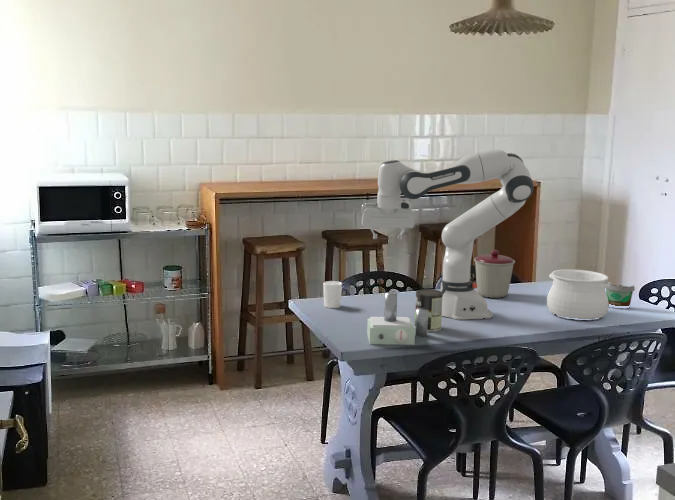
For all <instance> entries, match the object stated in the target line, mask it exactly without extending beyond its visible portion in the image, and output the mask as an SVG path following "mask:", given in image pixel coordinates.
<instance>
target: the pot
mask: <svg viewBox="0 0 675 500" xmlns="http://www.w3.org/2000/svg"><path fill="white" fill-rule="evenodd" d="M548 276H549V277H548V278H550V279H552V280H553V281H552V286H551V287H550V290H549V291H548V294H547V297H546V305H547V309H548V311H549V312H550V313H551V314H552V313H553V314H556V315H559V316H563V317H569V318H578V319H595V318H601V317H602V318H604V317H605V316H606V315H607V312H608V310H609V307H608V306H609V302H608V297H607V294H606V288H605V287H609V286H610V285H611V282H610V281H608V280H609V276H608V275H606V274H604V273H601V272H597V271H592V270H586V269H585V270H584V269H556V270H553V271H552V272H551V273H549V275H548ZM553 314H552V315H553ZM602 318H601V319H602Z"/></svg>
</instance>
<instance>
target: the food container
mask: <svg viewBox="0 0 675 500" xmlns="http://www.w3.org/2000/svg"><path fill="white" fill-rule="evenodd" d="M635 289H636V288H635V285H632V286H626V285H621V284H610V286H609V287H605V291H606V294H607V297H608V302H609V304H611V305H615V306H629V305H630V306H631V303H632V297H633V294H634V291H635Z"/></svg>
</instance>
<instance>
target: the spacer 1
mask: <svg viewBox="0 0 675 500" xmlns="http://www.w3.org/2000/svg"><path fill="white" fill-rule="evenodd" d="M397 309H398V293H397V292H394V291H386V292H385V293H384V316H383V317H384V320H385V321H387V322H395V321H396V317H398V316H397Z"/></svg>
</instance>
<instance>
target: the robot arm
mask: <svg viewBox="0 0 675 500" xmlns="http://www.w3.org/2000/svg"><path fill="white" fill-rule="evenodd" d="M377 173H378V174H377V186H378V191H377V200H376V202H366V203H364V204H362V205H361V209H360V213H361V214H362V216H361V226H362V227H363V228H370V231H371V233H372V235H373V236H372V238H373V240H377V239H378V233H375V229H376V228H377V229H378V228H384V229H385V228H387V229H388V228H389V229H391V228H393V229H394V228H395V229H400V231H401V232H399V234H397V240H401V241H402V240H403V235H404V233H405V231H406V229H413V228H414V227H415V213H414V211H413V210H412V208H413V205H412V203H411V202H410V201H408V200H406V199H405V200H404V199H401V198H402V197H401V194H402V195H403V196H404V197H405V198H407V199H410V200H417V199H420V198H422V197H423V196H425V195H426V194H427V193H429V192H430V191H433V190H436V189H437V190H438V189H442V188H444V187H448V186H453V185H468V184H469V185H470V184H478V183H483V182H488V181H490V180H495V179H496V180H499V182H500V184H501V185H502V187H501V188H500V189H499V190H498V191H495V192H494V193H492V194H491V195H489V196H487V198H485V199H484V200H482V201H480V202H479V203H478V204H475V205H474V206H473V207H471V208H470V209H468V210H467V211H465V212H464V213H462V214H461V215H459V216H458V217H456V218H455V219H454V220H452V221H450V222H448V223H447V224H446V225H445V226H444V227H443V229H442V231H441V241H442V243H443V245H444V246H445V251H444V257H443V261H442V265H443V266H442V279H441V280H440V281H441V283H440V291H441V292H443V299H442V317H446V318H450V319H454V320H459V321H460V320H461V321H462V320H480V319H481V320H482V319H483V318H485V319H492V318H493V316H494V313H493V312H492V311H491V310H490V309H488V303H487V300H486V299H485V297H484V296H481V295H480V294H479V293H478V291H477V287H478V286H477V282H474V281H472V280H471V266H472V257H473V251H474V249H473V248H474V242H475V240H476V239H478V238H479V237H481V236H482V235H484V234H486V232H488V231H490V230H492V229H493V228H494V227H496V226H497V225H499V224H500V223H502V222H504V221H505V220H507V219H509V218H510V217H511V216H513V215H514V214H515V213H516V212H518V211H519V210H520V209H521V208H522V207H523V206H524V205H525V203H526V201H527V200H528V199H529V198H531V196H532V195H533V193H534V187H535V186H534V185H535V184H534V181H533V179H532V177H531V173H530V171H529V169H528V168H527V166H526V165H525V163H524V160H523V159H522V158H521V157H520V156H519V155H517V154H515V153H512V152H511V153H507V152H505V151H504V150H485V151H480V152H475V153H471V154H468V155H466V156H463V157H460V159H459V160H457V162H456V163H454V164H453V165H451V166H450V167H447V168H443V169H439V170H435V171H431V172H420V171H419V170H417V169H414V168H411V167H409V166H407V165H405V164H403V163H402V162H401V160H398V159H397V160H388V161H384V162H382V163H381V164H380V165H379V167H378V172H377ZM491 317H492V318H491Z"/></svg>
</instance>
